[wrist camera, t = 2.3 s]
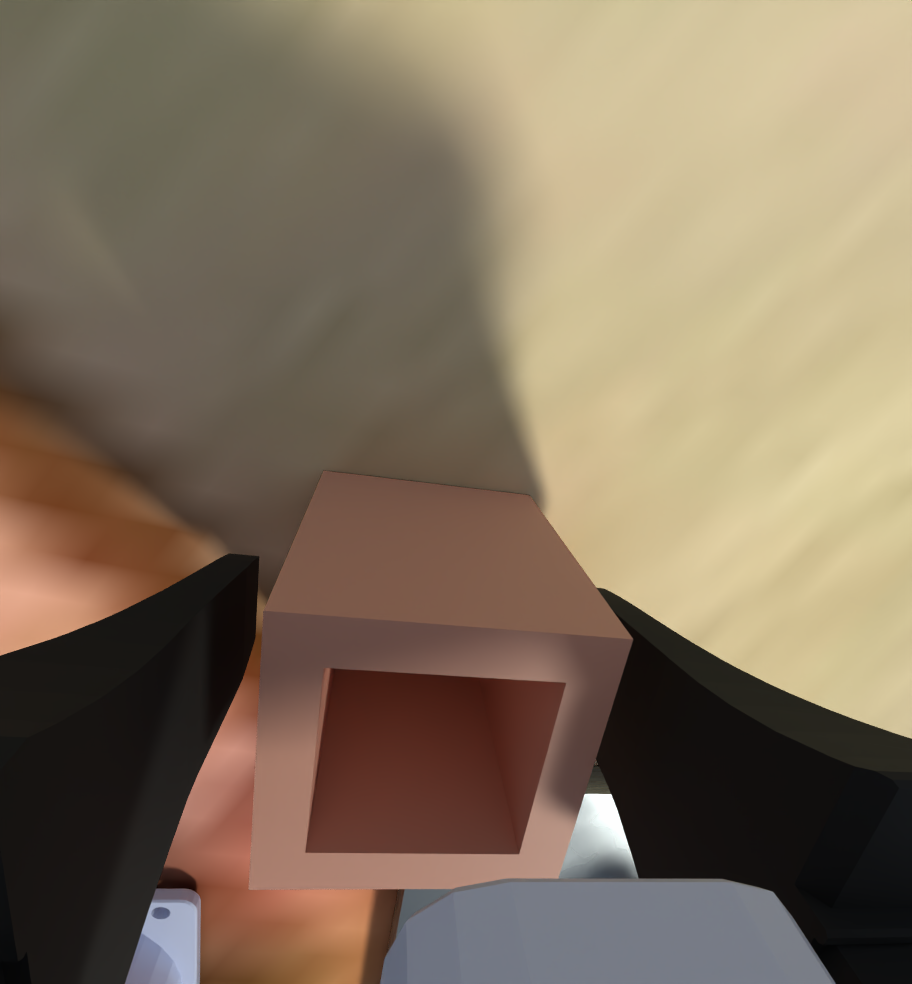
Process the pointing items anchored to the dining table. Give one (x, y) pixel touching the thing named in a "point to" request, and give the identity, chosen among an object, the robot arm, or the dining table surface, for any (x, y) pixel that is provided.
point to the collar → (426, 691)
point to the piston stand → (588, 856)
